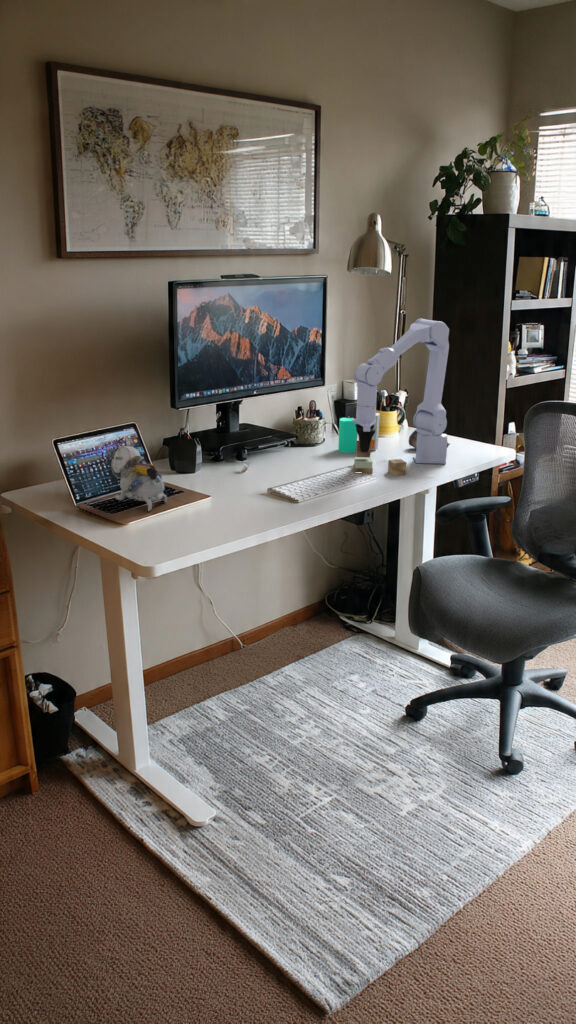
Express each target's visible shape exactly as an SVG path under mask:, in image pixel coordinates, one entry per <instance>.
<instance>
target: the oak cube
mask: <svg viewBox="0 0 576 1024" xmlns="http://www.w3.org/2000/svg"><path fill="white" fill-rule="evenodd" d="M407 463H408V462H407V461H405V460H403V459H401V458H395V459H388V465H387V466H388V467H387V473H388V474H390V475H391V476H393V477H400V476H406V475H407Z"/></svg>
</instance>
